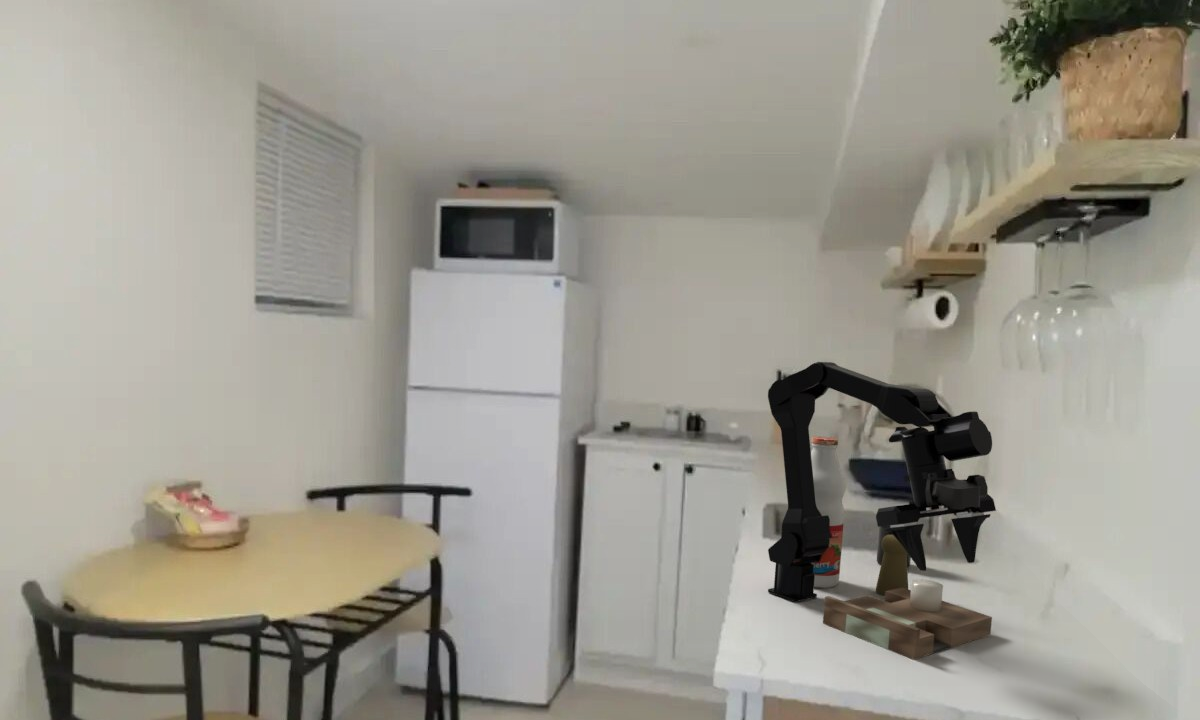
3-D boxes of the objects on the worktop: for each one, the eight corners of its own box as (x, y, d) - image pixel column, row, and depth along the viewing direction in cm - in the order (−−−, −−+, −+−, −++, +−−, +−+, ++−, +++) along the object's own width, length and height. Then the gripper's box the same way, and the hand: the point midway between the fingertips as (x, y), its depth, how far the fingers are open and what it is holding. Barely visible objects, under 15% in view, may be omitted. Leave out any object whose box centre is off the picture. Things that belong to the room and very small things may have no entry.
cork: (911, 600, 159) (916, 541, 158) (877, 596, 160) (881, 537, 160) (906, 590, 165) (911, 534, 164) (873, 586, 166) (878, 530, 166)
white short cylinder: (903, 604, 146) (905, 581, 146) (920, 600, 149) (922, 577, 149) (930, 613, 142) (932, 589, 142) (946, 609, 146) (948, 585, 145)
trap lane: (822, 623, 143) (824, 596, 143) (900, 603, 157) (902, 579, 156) (913, 659, 130) (916, 630, 129) (990, 634, 143) (992, 608, 143)
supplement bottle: (872, 559, 186) (876, 504, 186) (904, 561, 186) (908, 506, 186) (881, 568, 180) (886, 511, 179) (914, 570, 179) (919, 514, 179)
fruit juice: (835, 576, 171) (846, 436, 170) (841, 591, 162) (853, 443, 161) (787, 571, 173) (797, 432, 171) (790, 585, 163) (802, 439, 162)
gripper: (910, 464, 126) (933, 573, 122) (1010, 453, 132) (1034, 556, 129) (865, 474, 136) (885, 575, 133) (959, 463, 142) (980, 559, 139)
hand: (947, 566), depth 133 cm, fingers open, 9 cm apart
